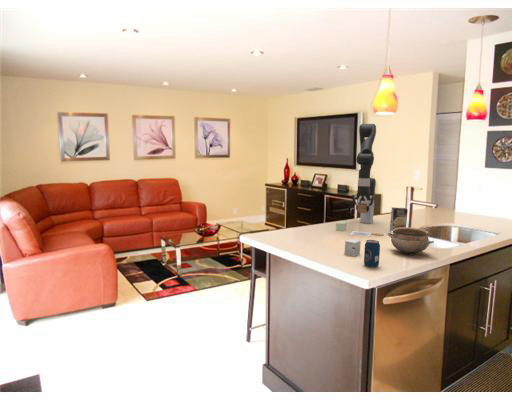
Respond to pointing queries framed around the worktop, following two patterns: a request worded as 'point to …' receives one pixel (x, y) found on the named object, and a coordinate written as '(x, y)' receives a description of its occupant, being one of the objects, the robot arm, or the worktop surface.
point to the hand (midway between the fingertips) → (362, 211)
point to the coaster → (377, 234)
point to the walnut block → (362, 208)
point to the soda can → (371, 253)
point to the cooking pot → (410, 240)
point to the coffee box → (398, 218)
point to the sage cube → (341, 226)
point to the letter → (360, 233)
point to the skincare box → (352, 247)
